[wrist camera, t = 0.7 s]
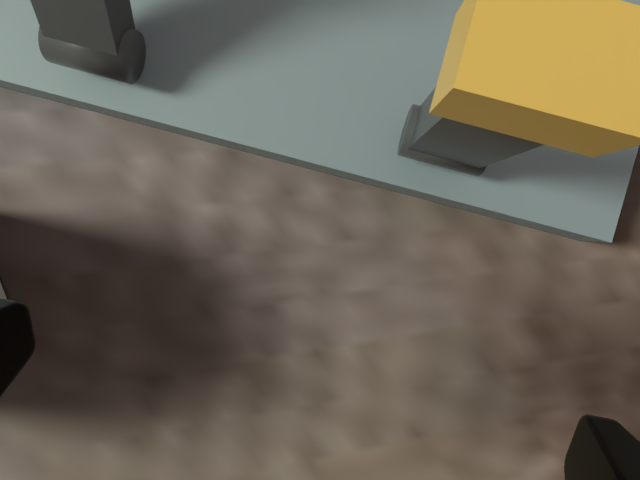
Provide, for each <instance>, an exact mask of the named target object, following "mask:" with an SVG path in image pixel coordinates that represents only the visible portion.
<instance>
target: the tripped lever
mask: <svg viewBox="0 0 640 480" xmlns="http://www.w3.org/2000/svg"><path fill="white" fill-rule="evenodd" d="M542 145H548V146H552V147H555V148H559V149H563V150H567V151H570V152H574V153H578V154H582V155H585V156H589V157H596V156H600V155H604V154H608V153H612V152H616V151H620V150H624V149H628V148H632V147H636V146H640V5H636V4H632V3H628V2H625V1H621V0H464V2H463V3H462V5H461V6H460V8H459V10H458V11H457V13H456V15H455V18H454V22H453V26H452V29H451V33H450V37H449V41H448V44H447V48H446V52H445V55H444V59H443V63H442V66H441V70H440V74H439V78H438V81H437V85H436V87H435V88H434V89H433V91H432V92H431V93H430V94H429V96H428V97H427V98H426V99H425V100H424V102H423V103H422V104H421V105H420V106H419V105H415V104H412V106H411V108H410V110H409V112H408V115H407V118H406V121H405V124H404V127H403V130H402V134H401V138H400V142H399V146H398V155H399V156H402V157H406V158H410V159H414V160H417V161H421V162H425V163H429V164H432V165H436V166H440V167H444V168H447V169H451V170H455V171H459V172H462V173H466V174H470V175H474V176H477V177H478V176H480V175H481V174H482V173H483V172H484V170H485V169H486V167H487V165H490V164H493V163H496V162H498V161H501V160H504V159H507V158H509V157H512V156H515V155H518V154H520V153H523V152H526V151H528V150H531V149H534V148H537V147H539V146H542Z"/></svg>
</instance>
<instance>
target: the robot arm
mask: <svg viewBox="0 0 640 480" xmlns="http://www.w3.org/2000/svg"><path fill="white" fill-rule="evenodd" d="M34 348H35V338H34V333H33V328H32V323H31V318H30V313H29V309H28V307H27V306H26V305H25V304H24V303H22V302H18V301H13V300H8V299H0V397H1V396H2V394H3V393H4V392H5V390H6V389H7V388H8V386H9V385H10V384H11V382H12V381H13V380H14V378H15V377H16V376H17V375H18V373H19V372H20V371H21V369H22V368H23V367H24V365H25V364H26V363H27V361H28V360H29V359H30V357H31V356H32V354H33V352H34ZM564 473H565V480H640V442H639V441H638V440H637V439H636V438H635V437H634V436H633V435H632V434H630V433H629V432H628V431H627V430H626V429H625V428H624V427H623V426H622V425H621V424H619V423H618V422H617V421H615V420H613V419H609V418H603V417H598V416H593V415H584V416H582V418H581V419H580V420H579V422H578V425H577V427H576V430H575V433H574V435H573V438H572V441H571V443H570V446H569V449H568V452H567V454H566V458H565V465H564Z"/></svg>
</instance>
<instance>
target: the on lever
mask: <svg viewBox="0 0 640 480" xmlns="http://www.w3.org/2000/svg"><path fill="white" fill-rule="evenodd" d="M30 1H31V4H32V6H33V9H34V12H35V15H36V17H37V20H38V23H39V25H40V26H39V31H38V43H39V48H40V51H41V54H42V56H43V57H44V59H45V60H46V61H48V62H50V63H53V64H57V65H61V66H65V67H68V68H72V69H76V70H80V71H83V72H87V73H91V74H95V75H98V76H102V77H106V78H110V79H113V80H117V81H121V82H125V83H128V84H134V83H135V82H136V81H137V80H138V79H139V77H140V75H141V73H142V71H143V68H144V63H145V57H146V45H145V40H144V37H143V35H142V33H141V32H140V31H138V30H135V25H134V20H133V14H132V9H131V4H130V0H30Z"/></svg>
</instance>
